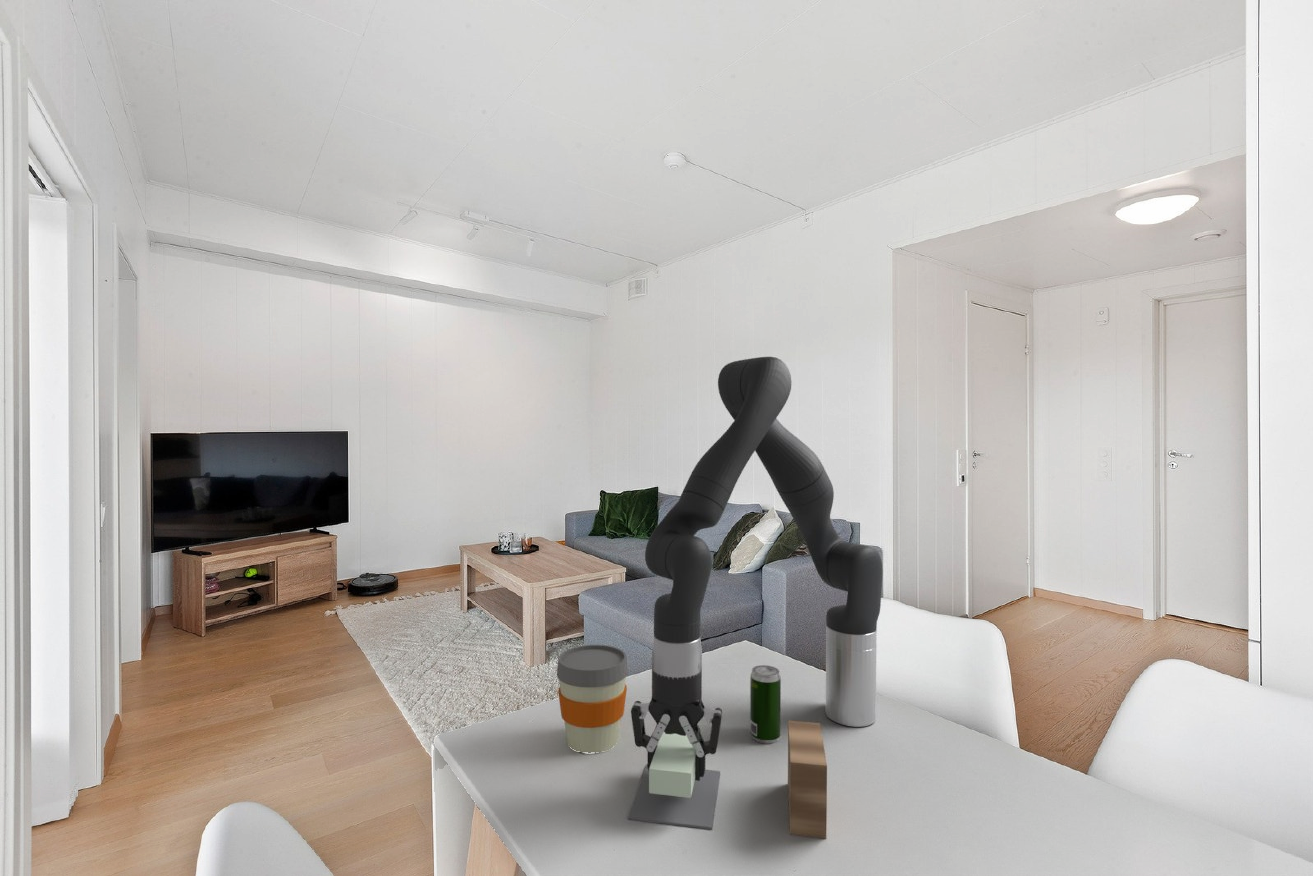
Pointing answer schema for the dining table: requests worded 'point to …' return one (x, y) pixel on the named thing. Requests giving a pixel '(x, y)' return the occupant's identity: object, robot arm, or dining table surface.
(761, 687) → the beer can
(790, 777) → the box
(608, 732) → the reusable coffee cup
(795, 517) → the robot arm
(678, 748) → the pale green block
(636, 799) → the mat
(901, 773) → the dining table surface
